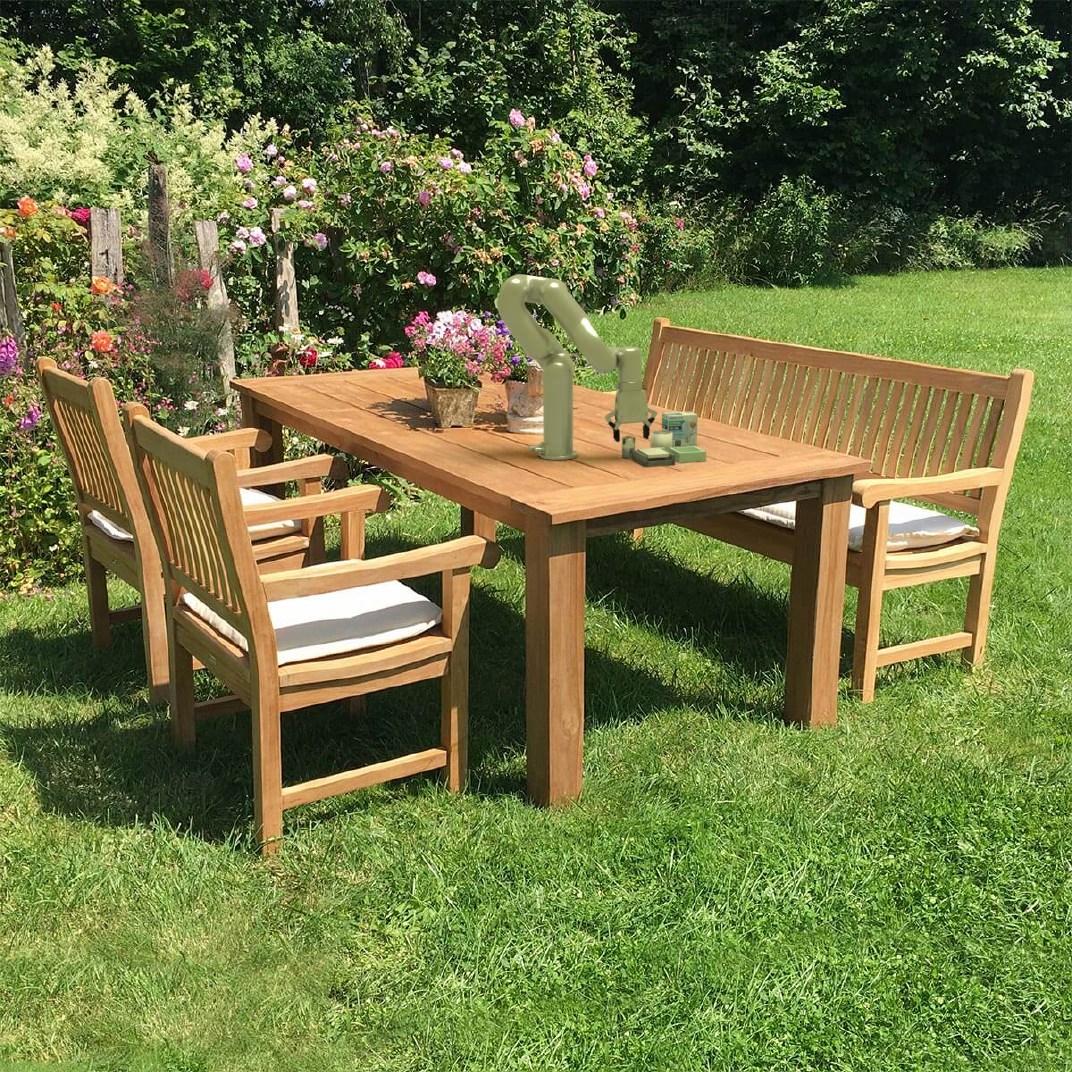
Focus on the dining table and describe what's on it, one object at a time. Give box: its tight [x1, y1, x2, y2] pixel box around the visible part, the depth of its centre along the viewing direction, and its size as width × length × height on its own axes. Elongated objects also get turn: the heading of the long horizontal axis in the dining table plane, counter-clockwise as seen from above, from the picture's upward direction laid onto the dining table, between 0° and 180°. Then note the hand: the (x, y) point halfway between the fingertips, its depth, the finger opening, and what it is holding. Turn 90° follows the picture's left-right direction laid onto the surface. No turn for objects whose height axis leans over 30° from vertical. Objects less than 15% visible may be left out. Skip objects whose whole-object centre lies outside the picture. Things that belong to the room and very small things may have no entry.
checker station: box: [630, 447, 676, 468], centre depth 376 cm, size 10×12×3 cm
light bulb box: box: [661, 411, 699, 448], centre depth 401 cm, size 11×7×11 cm, turn 105°
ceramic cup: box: [649, 430, 673, 451], centre depth 388 cm, size 7×7×7 cm
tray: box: [669, 445, 707, 464], centre depth 380 cm, size 9×9×3 cm
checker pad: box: [636, 447, 669, 458], centre depth 376 cm, size 7×10×1 cm
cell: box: [620, 435, 636, 460], centre depth 383 cm, size 4×4×7 cm
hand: (631, 439), depth 382 cm, fingers open, 9 cm apart
